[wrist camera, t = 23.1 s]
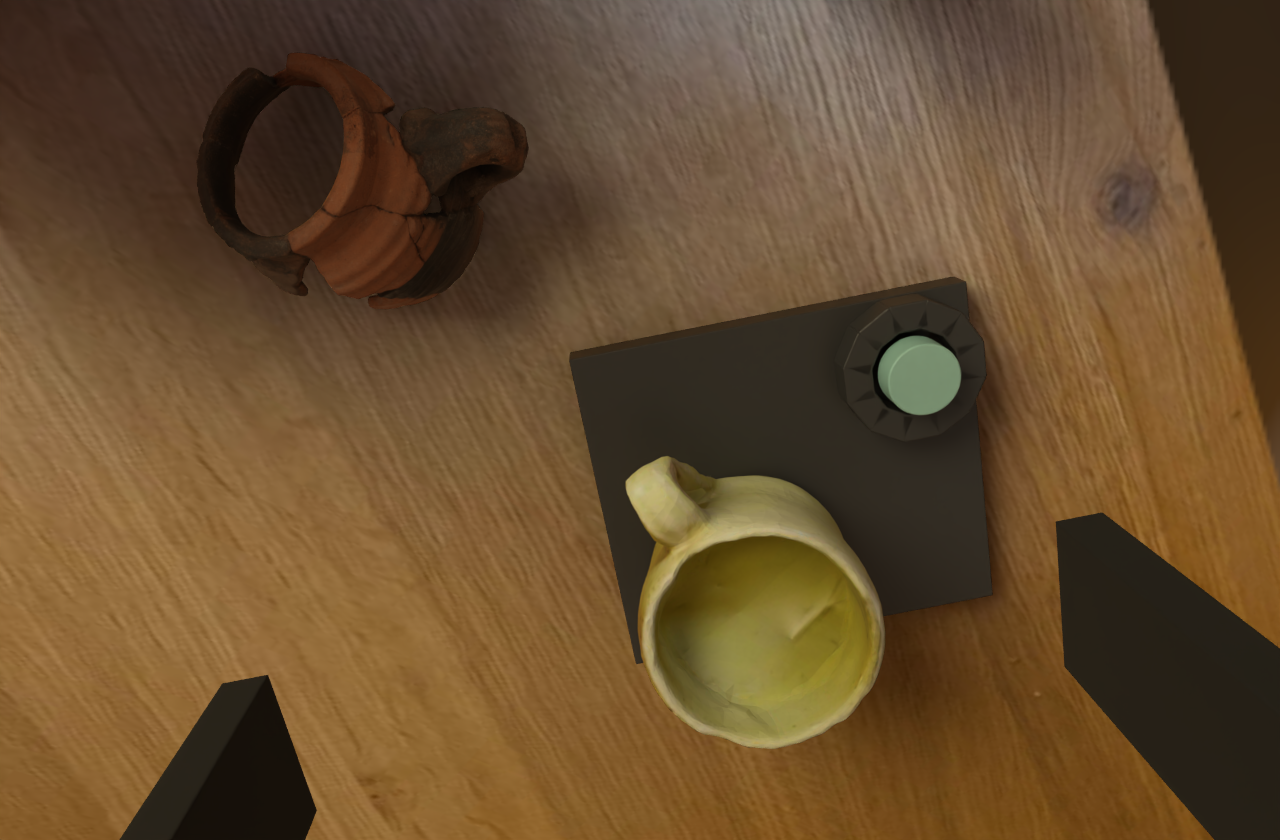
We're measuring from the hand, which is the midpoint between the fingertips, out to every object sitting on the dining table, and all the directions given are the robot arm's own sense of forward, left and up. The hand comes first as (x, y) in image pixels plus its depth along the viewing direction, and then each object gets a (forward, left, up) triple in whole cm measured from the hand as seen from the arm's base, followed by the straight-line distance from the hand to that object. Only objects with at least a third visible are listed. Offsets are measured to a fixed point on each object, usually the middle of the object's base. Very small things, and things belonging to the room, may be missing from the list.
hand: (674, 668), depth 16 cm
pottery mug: (+8, -8, -27) cm, 29 cm away
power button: (-12, +3, -24) cm, 27 cm away
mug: (-3, +10, -26) cm, 27 cm away
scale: (-6, +8, -27) cm, 29 cm away
